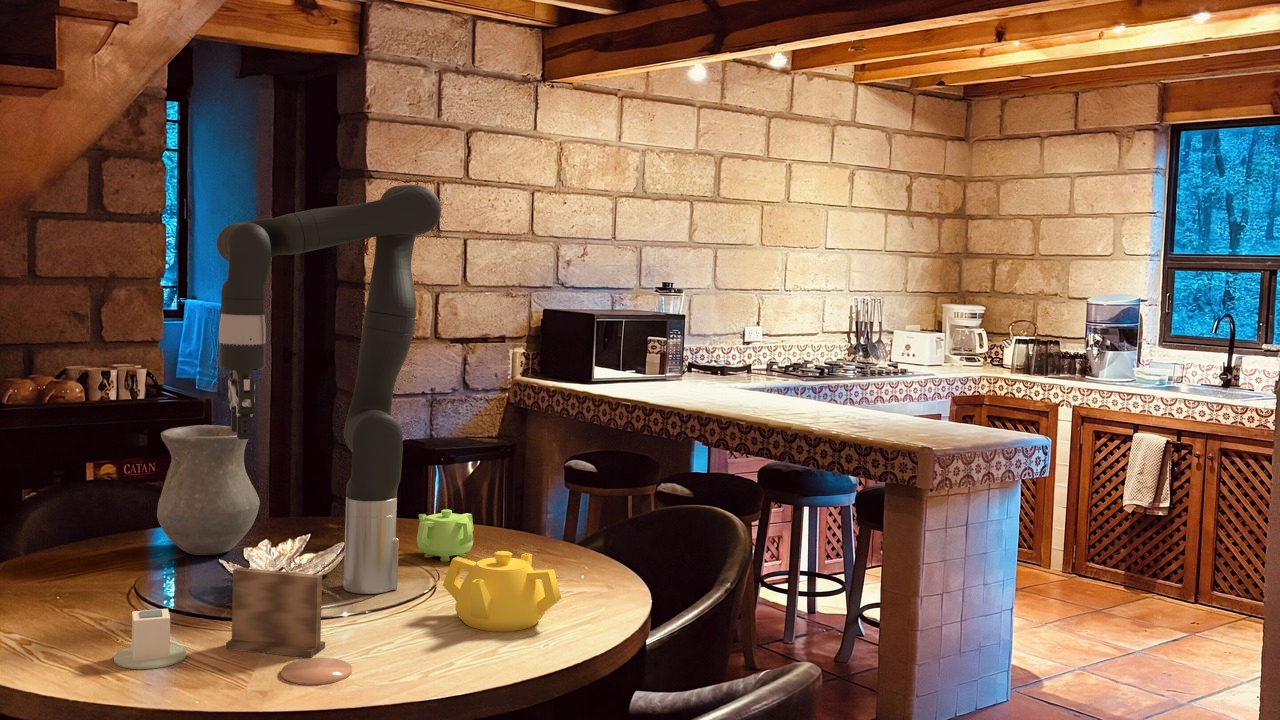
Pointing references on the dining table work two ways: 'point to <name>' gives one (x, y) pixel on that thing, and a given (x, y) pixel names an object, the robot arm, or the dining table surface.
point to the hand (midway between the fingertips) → (240, 435)
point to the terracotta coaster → (316, 671)
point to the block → (150, 634)
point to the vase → (206, 490)
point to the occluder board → (276, 612)
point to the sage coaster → (126, 659)
